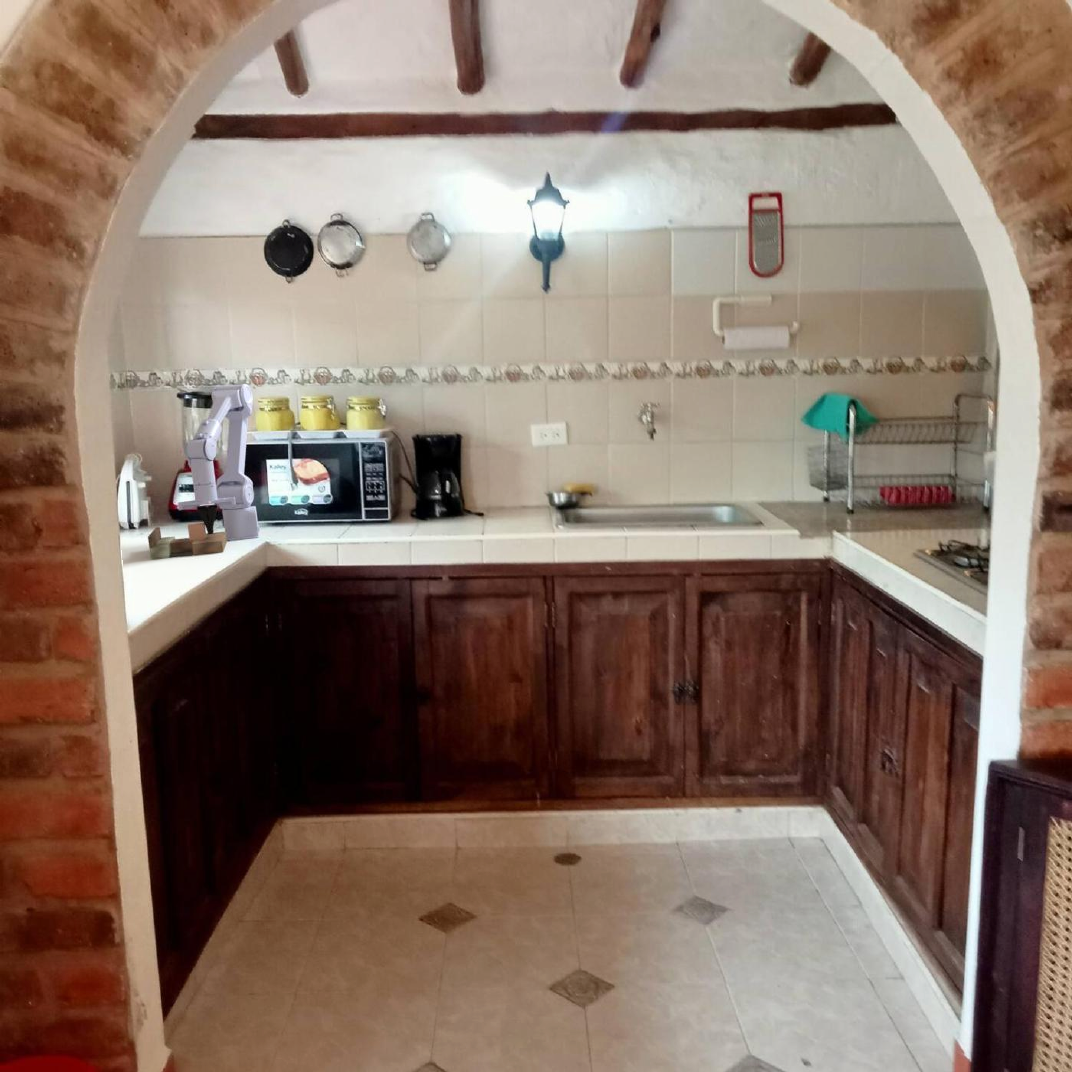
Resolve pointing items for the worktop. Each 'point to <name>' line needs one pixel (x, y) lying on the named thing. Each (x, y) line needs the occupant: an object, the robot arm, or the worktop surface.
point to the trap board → (184, 545)
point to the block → (197, 531)
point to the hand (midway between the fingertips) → (210, 533)
